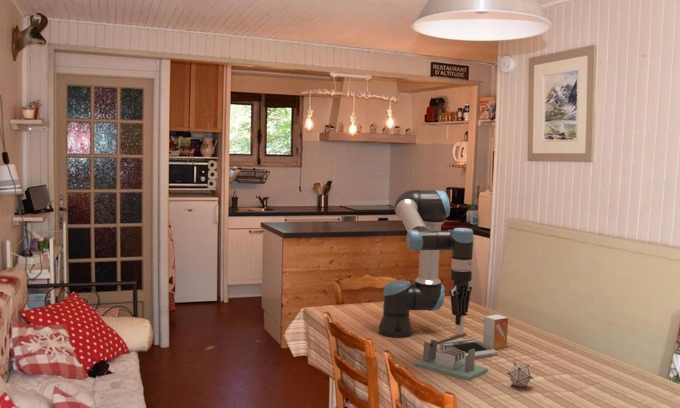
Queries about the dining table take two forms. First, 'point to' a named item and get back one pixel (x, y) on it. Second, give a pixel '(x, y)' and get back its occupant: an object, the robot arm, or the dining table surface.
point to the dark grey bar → (449, 339)
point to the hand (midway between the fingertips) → (459, 332)
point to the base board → (463, 372)
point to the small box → (495, 331)
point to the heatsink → (450, 358)
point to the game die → (520, 375)
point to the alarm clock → (470, 347)
